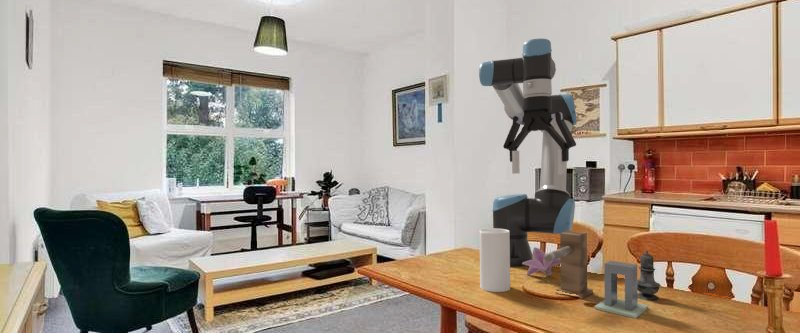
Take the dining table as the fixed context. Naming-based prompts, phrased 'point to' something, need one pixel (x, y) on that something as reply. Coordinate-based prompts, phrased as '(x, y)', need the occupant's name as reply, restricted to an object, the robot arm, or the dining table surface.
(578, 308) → the dining table surface
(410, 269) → the dining table surface
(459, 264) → the dining table surface
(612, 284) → the grey slotted block
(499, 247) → the cup
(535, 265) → the lily
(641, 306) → the mat
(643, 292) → the salt shaker
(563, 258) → the peg stand
